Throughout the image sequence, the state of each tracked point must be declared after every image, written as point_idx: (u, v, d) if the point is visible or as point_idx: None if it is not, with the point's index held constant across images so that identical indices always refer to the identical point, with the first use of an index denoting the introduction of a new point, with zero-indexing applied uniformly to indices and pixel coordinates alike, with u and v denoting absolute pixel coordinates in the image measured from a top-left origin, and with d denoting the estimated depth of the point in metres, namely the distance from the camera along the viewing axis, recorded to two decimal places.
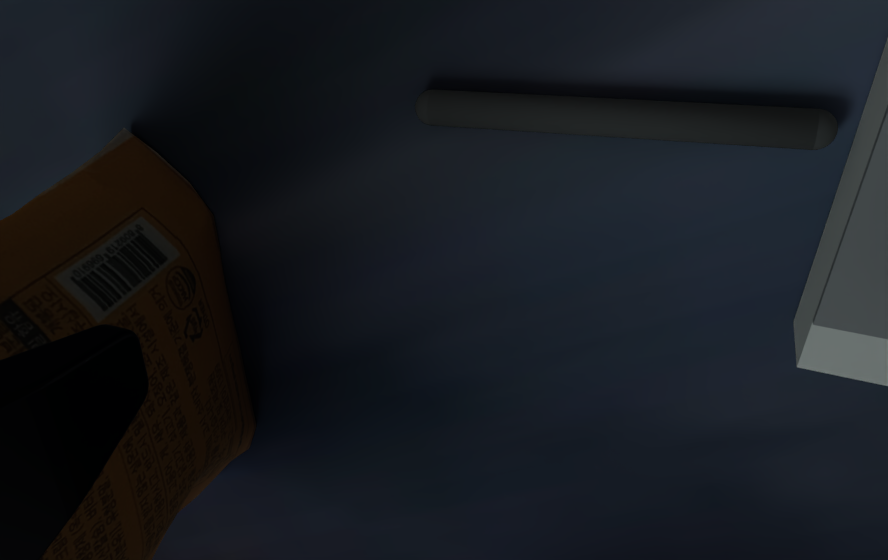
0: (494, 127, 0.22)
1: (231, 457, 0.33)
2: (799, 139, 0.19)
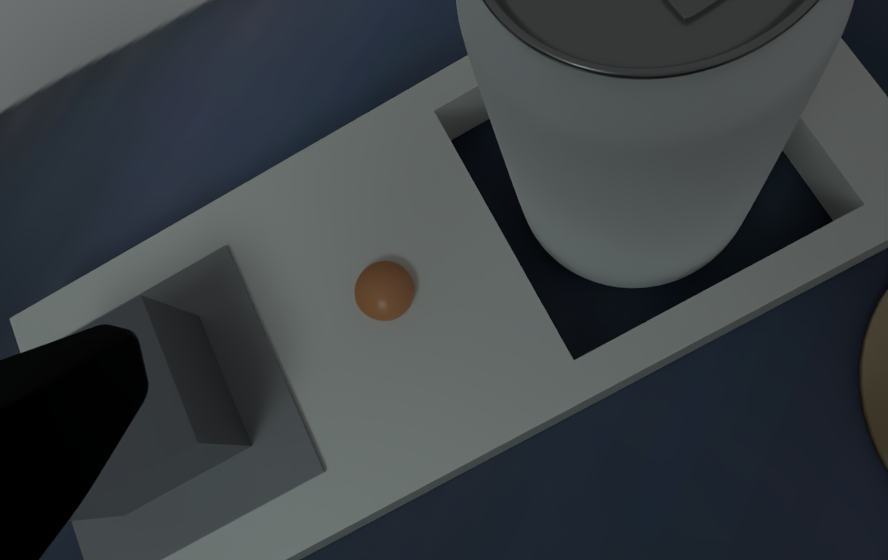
0: None
1: None
2: None
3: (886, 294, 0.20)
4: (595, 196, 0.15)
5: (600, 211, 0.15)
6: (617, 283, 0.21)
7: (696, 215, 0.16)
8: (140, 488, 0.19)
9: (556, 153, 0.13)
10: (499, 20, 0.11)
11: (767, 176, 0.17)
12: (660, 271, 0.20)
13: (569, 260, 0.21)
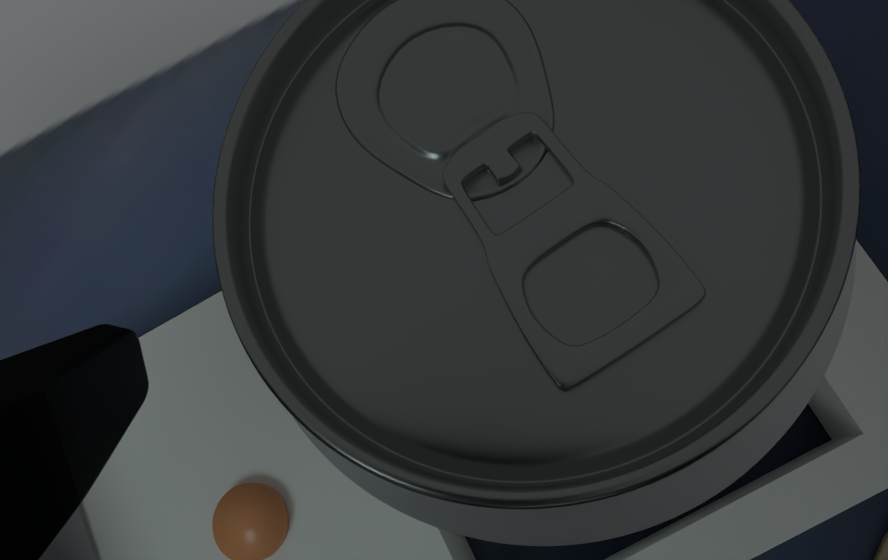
0: None
1: None
2: None
3: None
4: None
5: None
6: None
7: None
8: None
9: None
10: (260, 373, 0.07)
11: None
12: None
13: None
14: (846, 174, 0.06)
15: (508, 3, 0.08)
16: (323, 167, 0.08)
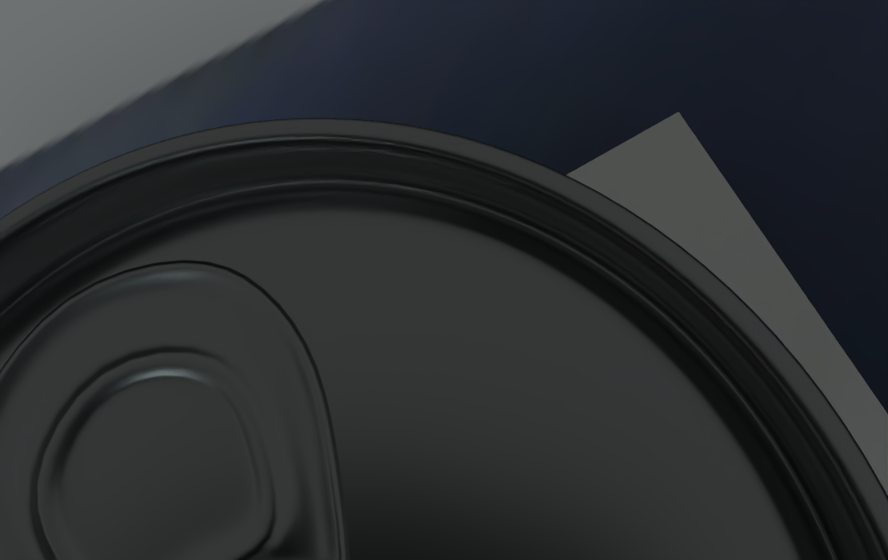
0: None
1: None
2: None
3: None
4: None
5: None
6: None
7: None
8: None
9: None
10: None
11: None
12: None
13: None
14: None
15: (279, 311, 0.04)
16: None
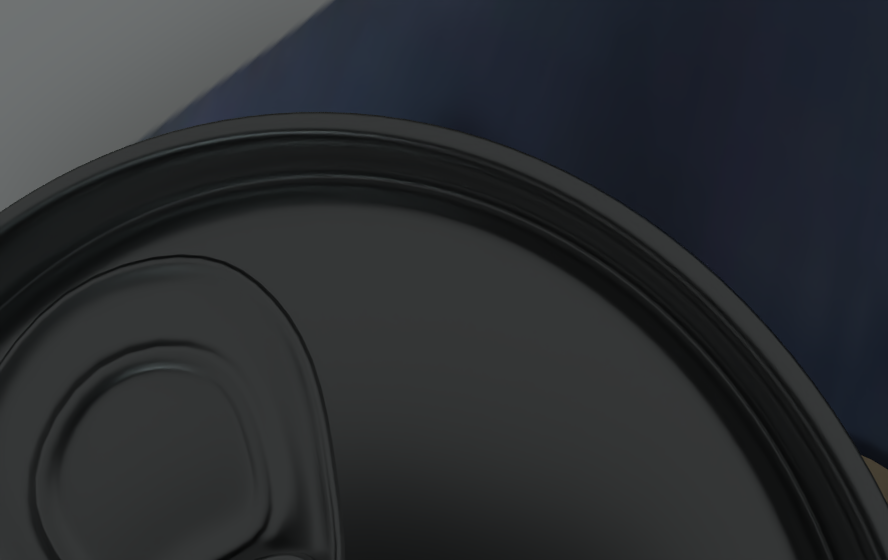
0: None
1: None
2: None
3: None
4: None
5: None
6: None
7: None
8: None
9: None
10: None
11: None
12: None
13: None
14: None
15: (276, 305, 0.04)
16: None
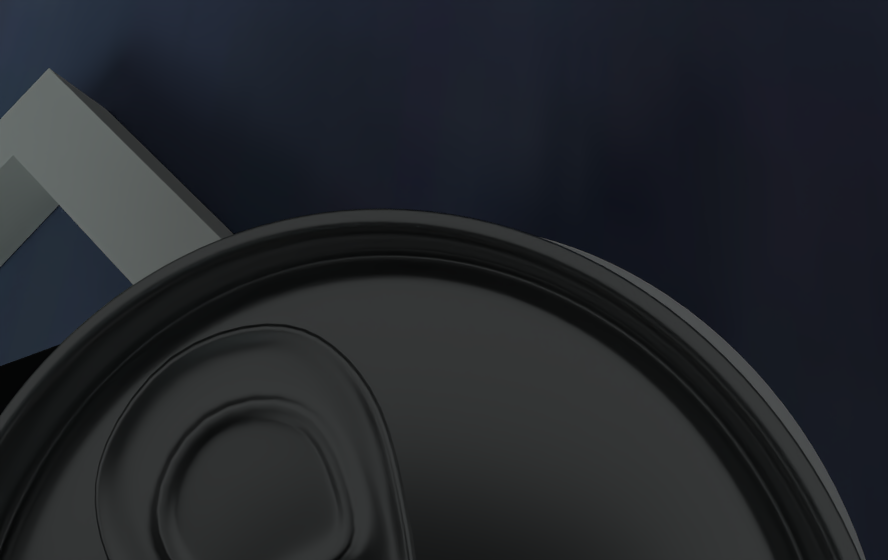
0: None
1: None
2: None
3: None
4: None
5: None
6: None
7: None
8: None
9: None
10: None
11: None
12: None
13: None
14: None
15: (348, 364, 0.05)
16: None
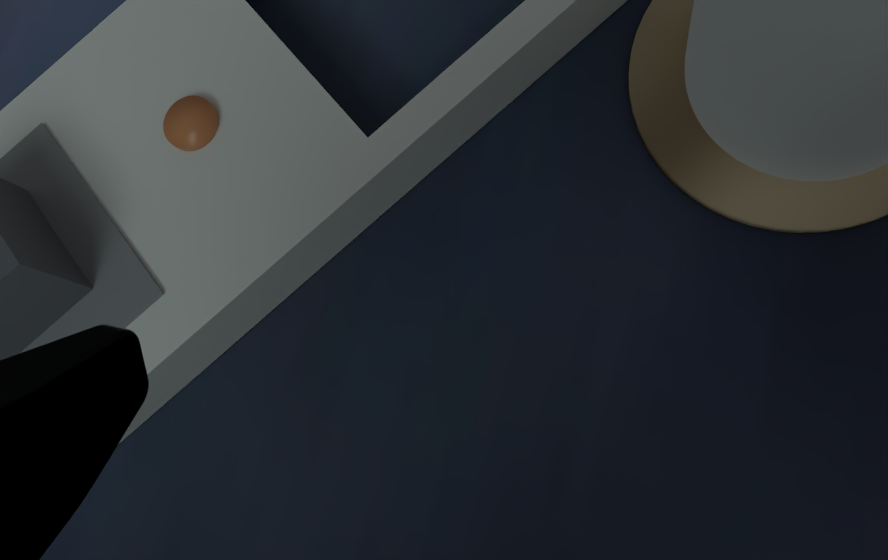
0: None
1: None
2: None
3: (638, 28, 0.22)
4: (858, 21, 0.13)
5: (849, 48, 0.14)
6: (794, 173, 0.20)
7: None
8: None
9: None
10: None
11: None
12: (855, 155, 0.18)
13: (748, 141, 0.19)
14: None
15: None
16: None
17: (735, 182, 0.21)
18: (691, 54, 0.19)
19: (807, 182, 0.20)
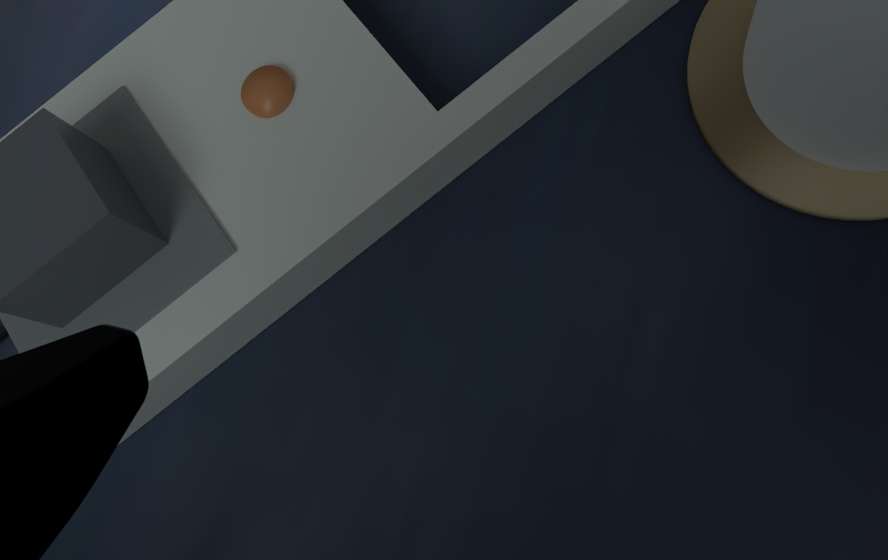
0: None
1: None
2: None
3: (698, 20, 0.23)
4: None
5: None
6: (846, 161, 0.21)
7: None
8: (67, 279, 0.21)
9: None
10: None
11: None
12: None
13: (804, 129, 0.20)
14: None
15: None
16: None
17: (787, 169, 0.22)
18: (753, 44, 0.20)
19: (857, 172, 0.21)
